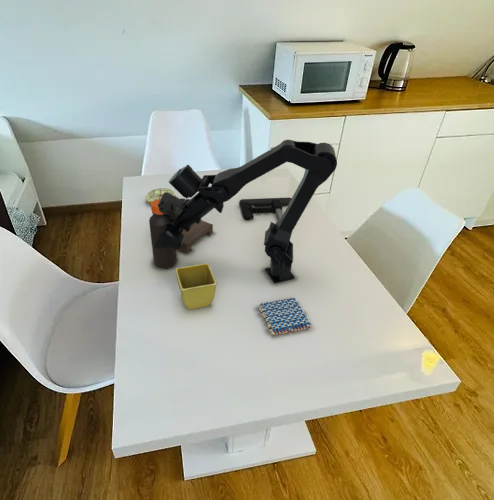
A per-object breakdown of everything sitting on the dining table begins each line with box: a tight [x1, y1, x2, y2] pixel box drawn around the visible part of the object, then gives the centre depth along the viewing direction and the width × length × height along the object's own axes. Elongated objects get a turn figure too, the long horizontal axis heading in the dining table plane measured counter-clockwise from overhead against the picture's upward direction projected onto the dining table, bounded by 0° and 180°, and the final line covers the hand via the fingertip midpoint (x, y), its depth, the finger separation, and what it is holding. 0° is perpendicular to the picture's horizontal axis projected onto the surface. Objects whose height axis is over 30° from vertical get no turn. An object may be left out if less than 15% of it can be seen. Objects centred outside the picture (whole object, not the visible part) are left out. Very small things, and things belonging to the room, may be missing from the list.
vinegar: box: [148, 199, 178, 270], centre depth 110 cm, size 7×7×20 cm
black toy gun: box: [238, 197, 292, 222], centre depth 139 cm, size 3×20×16 cm
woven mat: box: [258, 297, 312, 336], centre depth 97 cm, size 10×11×2 cm
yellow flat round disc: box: [145, 187, 176, 206], centre depth 145 cm, size 10×11×4 cm
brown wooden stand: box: [177, 197, 214, 254], centre depth 124 cm, size 12×14×10 cm
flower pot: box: [174, 263, 217, 311], centre depth 99 cm, size 9×9×9 cm
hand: (159, 238), depth 111 cm, fingers open, 9 cm apart
